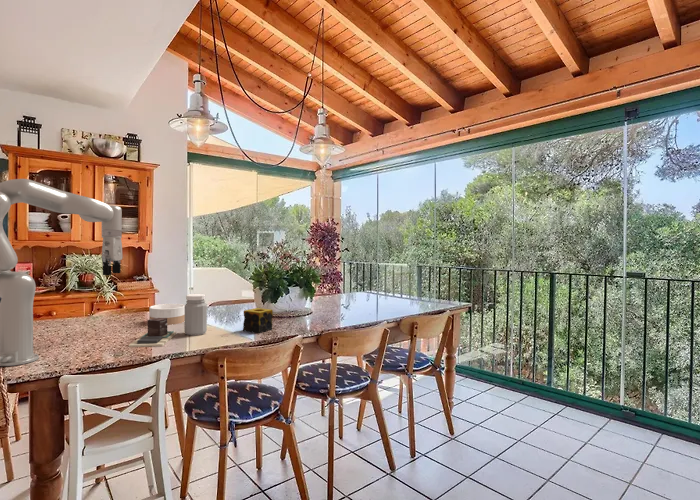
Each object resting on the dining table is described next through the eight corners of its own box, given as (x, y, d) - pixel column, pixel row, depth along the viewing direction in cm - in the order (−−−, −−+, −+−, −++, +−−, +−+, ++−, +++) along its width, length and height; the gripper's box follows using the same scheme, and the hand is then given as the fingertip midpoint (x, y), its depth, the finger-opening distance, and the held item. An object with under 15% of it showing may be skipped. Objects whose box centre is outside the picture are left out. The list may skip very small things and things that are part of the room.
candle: (242, 331, 199) (242, 310, 199) (256, 327, 208) (256, 307, 208) (259, 333, 194) (259, 312, 194) (272, 329, 203) (272, 309, 203)
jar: (197, 330, 199) (197, 292, 199) (211, 332, 194) (211, 294, 194) (179, 334, 191) (179, 295, 191) (193, 336, 186) (194, 296, 186)
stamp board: (162, 346, 170) (162, 341, 170) (128, 347, 168) (128, 342, 168) (176, 333, 191) (176, 329, 191) (146, 334, 189) (146, 330, 189)
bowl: (192, 321, 221) (192, 305, 221) (162, 326, 206) (162, 310, 206) (171, 317, 230) (171, 302, 230) (142, 322, 215) (142, 306, 215)
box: (159, 337, 181) (159, 320, 181) (147, 336, 182) (147, 319, 182) (167, 334, 187) (167, 317, 187) (155, 333, 188) (155, 317, 188)
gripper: (113, 234, 170) (113, 276, 171) (128, 234, 187) (128, 272, 188) (93, 234, 169) (93, 276, 170) (110, 234, 186) (110, 272, 187)
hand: (111, 274), depth 179 cm, fingers open, 9 cm apart
